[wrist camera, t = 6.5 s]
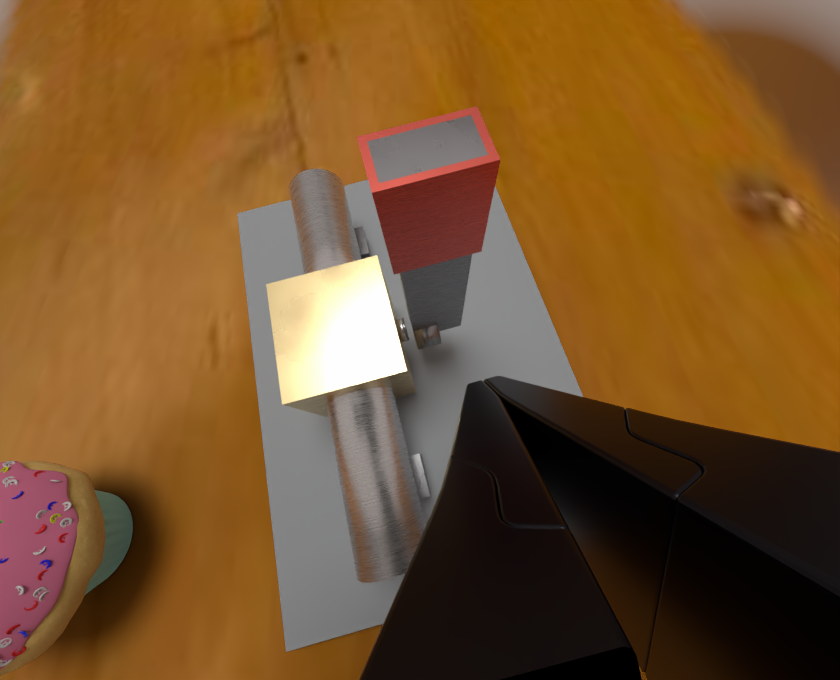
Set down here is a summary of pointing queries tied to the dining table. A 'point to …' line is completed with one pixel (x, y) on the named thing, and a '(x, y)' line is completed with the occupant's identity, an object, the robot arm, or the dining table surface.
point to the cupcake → (51, 552)
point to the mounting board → (419, 412)
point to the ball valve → (350, 373)
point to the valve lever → (432, 210)
